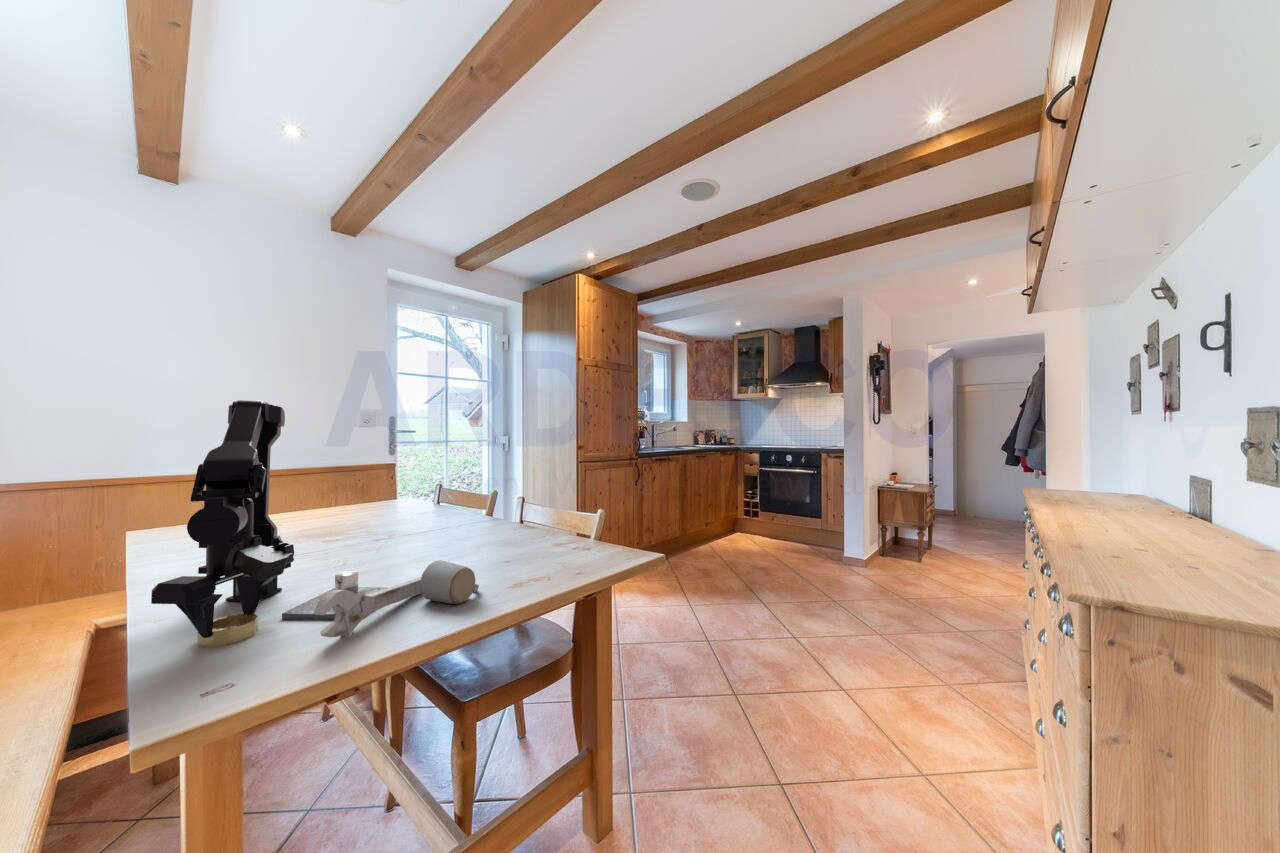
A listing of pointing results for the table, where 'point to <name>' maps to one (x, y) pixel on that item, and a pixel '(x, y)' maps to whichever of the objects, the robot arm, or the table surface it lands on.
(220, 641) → the ring
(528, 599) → the table surface
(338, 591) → the wrench
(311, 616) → the piston stand
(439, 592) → the ceramic mug
